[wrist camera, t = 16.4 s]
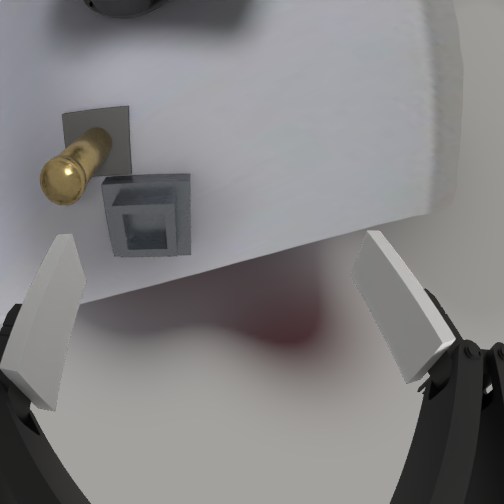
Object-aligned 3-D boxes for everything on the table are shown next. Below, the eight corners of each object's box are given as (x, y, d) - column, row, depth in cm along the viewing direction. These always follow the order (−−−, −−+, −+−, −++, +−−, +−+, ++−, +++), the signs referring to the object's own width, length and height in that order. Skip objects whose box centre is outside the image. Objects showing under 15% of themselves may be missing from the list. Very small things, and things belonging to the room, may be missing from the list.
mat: (63, 113, 35) (62, 114, 35) (128, 105, 37) (128, 106, 37) (71, 176, 42) (70, 178, 41) (131, 172, 44) (131, 174, 43)
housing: (106, 176, 43) (96, 193, 39) (190, 173, 46) (189, 190, 41) (117, 246, 52) (111, 267, 47) (190, 244, 54) (190, 266, 50)
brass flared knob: (77, 127, 37) (36, 161, 26) (113, 123, 38) (80, 156, 27) (81, 162, 40) (45, 206, 29) (115, 160, 41) (87, 204, 31)
